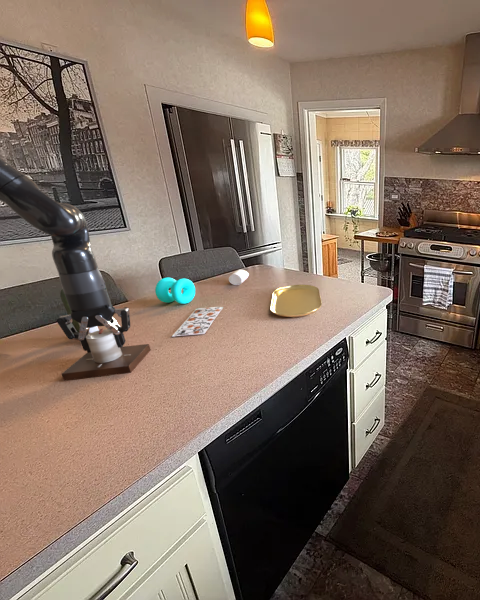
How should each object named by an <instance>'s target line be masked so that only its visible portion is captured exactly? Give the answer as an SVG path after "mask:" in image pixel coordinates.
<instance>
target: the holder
mask: <svg viewBox="0 0 480 600" xmlns="http://www.w3.org/2000/svg"><path fill="white" fill-rule="evenodd" d="M120 349H121V352H122V355H121V356H120V357H119V358H117V359H115V360H113V361H109V362H105V363H96V362H95V361H94V358H93V356H92V353H91V352H89V353H88V352H87V351H86V353H84V355H82V356H81V357H80V358H79V359H77V360H76V361H75V362H73V364H72V365H70V366H69V367H68V368H66V369H65V370H64V371H63V372H61V377H62V379H63V381H73V380H74V381H75V380H81V379H90V378H98V377H99V378H100V377H106V376H114V375H122V374H123V375H124V374H130V373H131V374H132V372H133V371H135V369H136V368H137V367H138V366H139V364H140V363H141V362H142V360H143V359H145V357H146V356H147V355H148V354H149V353H150V351H151V346H150V343H145V344H135V345H126V346H125V345H123V347H120Z"/></svg>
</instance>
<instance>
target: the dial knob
mask: <svg viewBox="0 0 480 600" xmlns="http://www.w3.org/2000/svg"><path fill="white" fill-rule="evenodd" d="M114 335H115V334H114V333H113V332H112V331H111V330H110V329H107V328H106V329H105V328H100V329H99V331H95V332H92V333H90V334H88V335H87V336H86V340H87V343H88V345H89V348H90V350H91V353H92V356H93V358H94V361H95V362H96V363H105V362H109V361H113V360H115V359H117V358H119V357H120V356H121V355H122V352H121V349H120V348H118V346H117V343H116V340H115V337H114Z"/></svg>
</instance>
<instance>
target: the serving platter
mask: <svg viewBox="0 0 480 600" xmlns="http://www.w3.org/2000/svg"><path fill="white" fill-rule="evenodd" d="M322 305H323V302H322V297H321V293H320V289H319V288H318V286H316V285H311V284H291V285H285V286H282V287H279V288H277V289H275V290H274V291H273V292H272V295H271V302H270V308H269V311H271V312H272V313H273V315H275V316H277V317H283V318H299V317H304V316H309V315H311V314H314V313H316V312H317V311H319V310H320V309H321V307H322Z"/></svg>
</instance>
